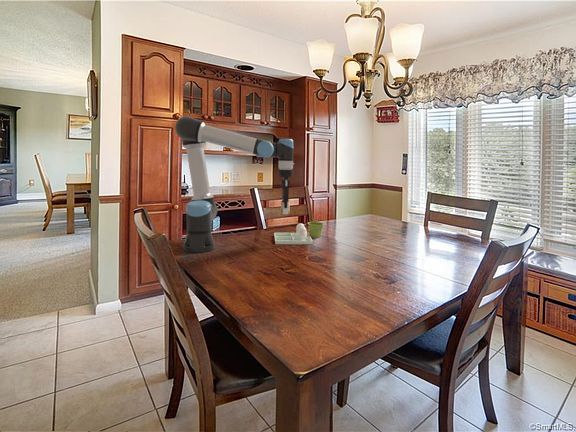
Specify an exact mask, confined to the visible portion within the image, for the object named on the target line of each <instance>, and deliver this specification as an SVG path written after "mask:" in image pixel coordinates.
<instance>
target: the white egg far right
mask: <svg viewBox="0 0 576 432" xmlns="http://www.w3.org/2000/svg"><path fill="white" fill-rule="evenodd" d="M307 233H308V231H307V228H306V227H305V226H304V227H300V228H299V230H298V241H306V239H307Z"/></svg>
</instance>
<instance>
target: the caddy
mask: <svg viewBox="0 0 576 432" xmlns="http://www.w3.org/2000/svg"><path fill="white" fill-rule="evenodd" d="M273 236H274V244H275V245H314V241H313V239H312V237H310V232H307V239H306V241H298V236H296V232H274V233H273Z"/></svg>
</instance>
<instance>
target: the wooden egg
mask: <svg viewBox="0 0 576 432" xmlns="http://www.w3.org/2000/svg"><path fill="white" fill-rule="evenodd" d="M282 201H283V199H282V198H281V201H280V215H290V209H291V208H290V207H291V205H290V204H291V202H290V200H289V201H288V214H283V202H282Z"/></svg>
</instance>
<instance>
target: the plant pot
mask: <svg viewBox="0 0 576 432" xmlns="http://www.w3.org/2000/svg"><path fill="white" fill-rule="evenodd" d="M307 225H308V231H309V232H308V233H309V235H310V237H311V239H312V238H314V239H318V238H321V237H322V233H323V228H324V225H325V223H324V222H320V221H309V222H307Z"/></svg>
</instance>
